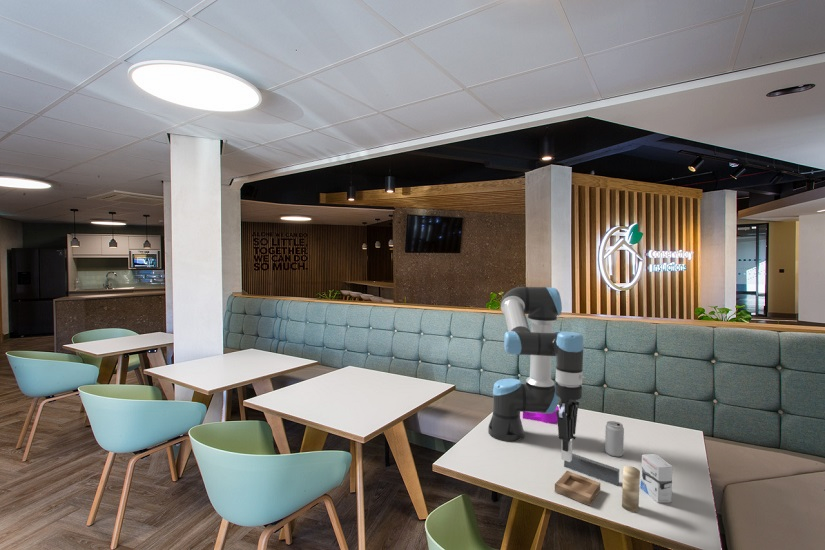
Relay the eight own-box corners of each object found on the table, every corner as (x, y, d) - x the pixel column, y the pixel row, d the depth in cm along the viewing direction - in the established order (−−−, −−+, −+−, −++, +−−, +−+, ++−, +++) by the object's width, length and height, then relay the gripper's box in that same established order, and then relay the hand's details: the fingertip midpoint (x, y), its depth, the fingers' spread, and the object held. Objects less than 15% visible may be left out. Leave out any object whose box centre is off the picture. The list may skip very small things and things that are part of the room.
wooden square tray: (554, 491, 128) (554, 484, 128) (566, 477, 137) (566, 470, 136) (589, 505, 121) (589, 497, 121) (600, 490, 129) (600, 482, 129)
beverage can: (625, 458, 151) (626, 428, 150) (607, 456, 152) (608, 426, 151) (620, 450, 157) (621, 421, 156) (602, 448, 158) (603, 419, 158)
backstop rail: (564, 466, 144) (564, 453, 144) (566, 464, 146) (566, 451, 145) (617, 485, 132) (617, 471, 132) (618, 483, 134) (619, 469, 134)
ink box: (639, 487, 132) (640, 453, 131) (653, 487, 132) (654, 453, 131) (657, 503, 123) (659, 467, 123) (672, 502, 123) (673, 466, 123)
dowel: (620, 507, 121) (621, 470, 120) (623, 501, 124) (625, 464, 123) (636, 514, 118) (638, 475, 117) (639, 507, 121) (641, 469, 120)
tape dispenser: (558, 417, 189) (559, 404, 189) (558, 425, 180) (558, 412, 180) (524, 412, 196) (525, 399, 195) (522, 419, 186) (522, 406, 186)
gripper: (573, 391, 111) (571, 472, 112) (588, 381, 121) (586, 456, 122) (548, 385, 116) (545, 463, 117) (564, 376, 126) (562, 448, 127)
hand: (566, 459), depth 119 cm, fingers closed
